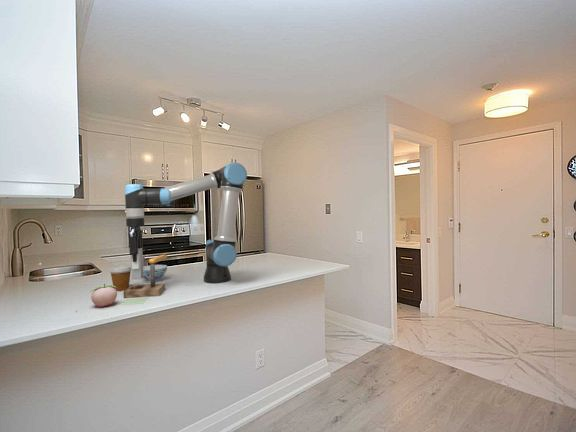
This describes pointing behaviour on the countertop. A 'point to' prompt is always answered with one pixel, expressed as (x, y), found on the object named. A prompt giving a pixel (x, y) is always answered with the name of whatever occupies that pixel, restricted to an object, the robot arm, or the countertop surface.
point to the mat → (134, 301)
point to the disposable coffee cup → (120, 277)
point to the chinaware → (159, 272)
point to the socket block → (145, 287)
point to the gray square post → (139, 272)
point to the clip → (157, 258)
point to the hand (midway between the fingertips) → (137, 267)
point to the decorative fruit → (104, 295)
